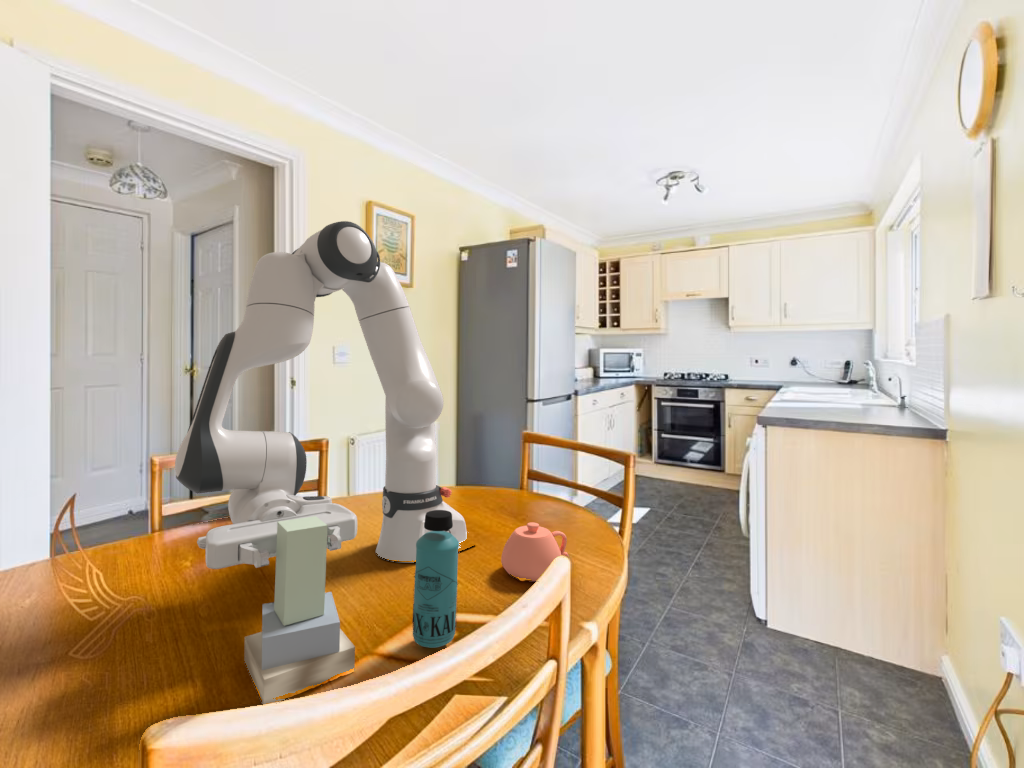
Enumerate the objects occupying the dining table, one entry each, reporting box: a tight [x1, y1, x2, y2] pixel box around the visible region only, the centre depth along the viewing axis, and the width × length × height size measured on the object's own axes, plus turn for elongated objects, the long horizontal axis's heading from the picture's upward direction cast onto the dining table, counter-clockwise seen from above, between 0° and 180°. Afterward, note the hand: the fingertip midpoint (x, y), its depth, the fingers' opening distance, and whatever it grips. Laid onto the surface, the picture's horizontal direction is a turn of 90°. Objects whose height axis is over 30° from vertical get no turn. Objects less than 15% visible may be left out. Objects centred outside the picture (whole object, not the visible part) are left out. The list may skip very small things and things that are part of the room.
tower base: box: [243, 628, 356, 704], centre depth 64 cm, size 11×11×4 cm
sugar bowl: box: [500, 522, 570, 582], centre depth 95 cm, size 12×14×10 cm
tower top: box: [261, 591, 341, 670], centre depth 64 cm, size 9×9×4 cm
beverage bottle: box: [411, 510, 459, 649], centre depth 69 cm, size 6×7×20 cm
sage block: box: [273, 516, 328, 626], centre depth 63 cm, size 5×5×12 cm
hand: (301, 552), depth 64 cm, fingers open, 8 cm apart
